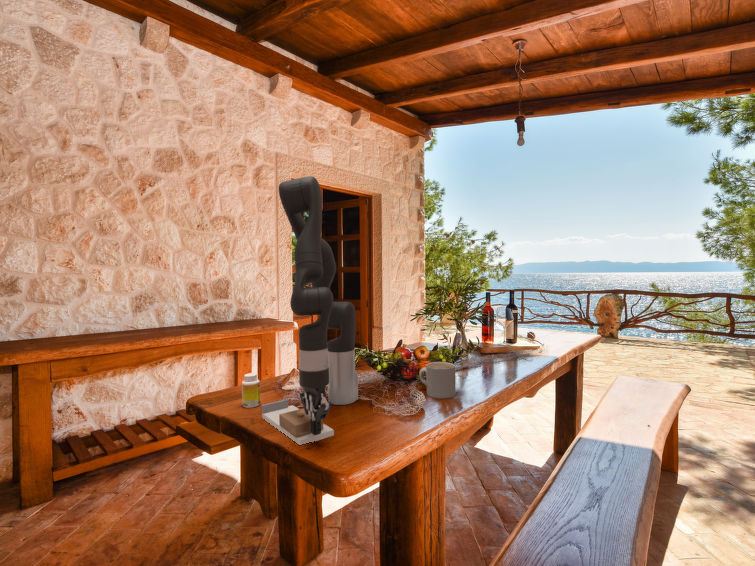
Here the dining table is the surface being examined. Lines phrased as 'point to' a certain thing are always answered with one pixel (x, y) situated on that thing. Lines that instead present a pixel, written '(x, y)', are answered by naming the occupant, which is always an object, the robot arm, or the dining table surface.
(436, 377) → the coffee mug
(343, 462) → the dining table surface
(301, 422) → the cover
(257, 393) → the supplement bottle
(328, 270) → the robot arm
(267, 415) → the board
